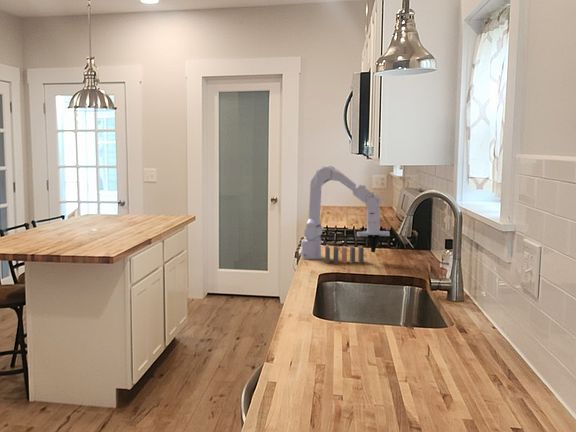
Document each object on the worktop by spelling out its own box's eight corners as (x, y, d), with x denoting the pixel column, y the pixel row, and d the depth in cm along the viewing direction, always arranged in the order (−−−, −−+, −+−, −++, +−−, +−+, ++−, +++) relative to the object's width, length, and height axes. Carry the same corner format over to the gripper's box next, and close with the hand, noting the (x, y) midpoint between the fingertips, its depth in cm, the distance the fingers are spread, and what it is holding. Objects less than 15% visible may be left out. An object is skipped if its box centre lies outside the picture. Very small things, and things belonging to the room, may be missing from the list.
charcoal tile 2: (351, 263, 223) (351, 247, 222) (350, 260, 228) (350, 245, 227) (355, 263, 223) (355, 247, 222) (353, 260, 228) (353, 245, 227)
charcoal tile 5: (326, 263, 223) (326, 248, 222) (325, 261, 228) (325, 246, 227) (329, 263, 223) (329, 248, 222) (328, 261, 228) (328, 246, 227)
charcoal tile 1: (360, 263, 223) (360, 247, 222) (358, 260, 228) (358, 245, 227) (363, 263, 223) (363, 247, 223) (361, 260, 228) (361, 245, 227)
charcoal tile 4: (334, 263, 223) (334, 248, 222) (333, 261, 228) (333, 246, 227) (338, 263, 223) (338, 248, 222) (336, 261, 228) (336, 246, 227)
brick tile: (343, 263, 223) (343, 248, 222) (341, 261, 228) (341, 246, 227) (346, 263, 223) (346, 247, 222) (345, 261, 228) (345, 246, 227)
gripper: (358, 223, 220) (358, 253, 221) (391, 223, 220) (391, 253, 222) (356, 221, 227) (356, 250, 228) (387, 221, 227) (387, 250, 229)
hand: (373, 251), depth 225 cm, fingers closed
